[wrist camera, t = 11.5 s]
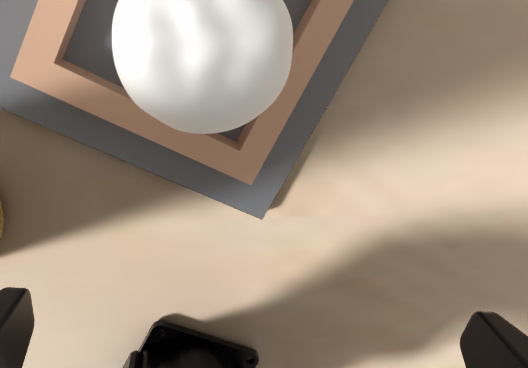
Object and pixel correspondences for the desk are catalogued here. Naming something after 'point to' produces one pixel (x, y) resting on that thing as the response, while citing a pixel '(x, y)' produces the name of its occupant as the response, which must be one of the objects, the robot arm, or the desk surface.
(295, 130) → the dock
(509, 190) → the desk surface
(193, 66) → the milkshake
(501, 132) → the desk surface
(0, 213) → the brown tall cylinder
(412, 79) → the desk surface
